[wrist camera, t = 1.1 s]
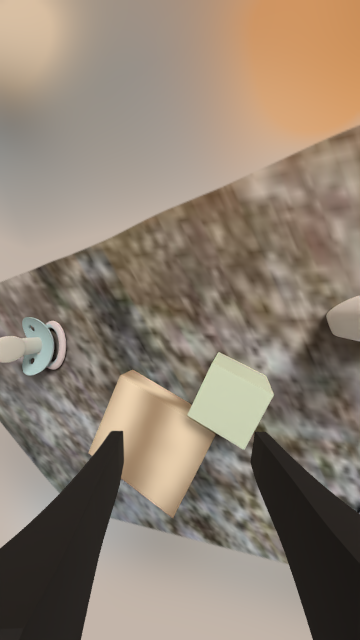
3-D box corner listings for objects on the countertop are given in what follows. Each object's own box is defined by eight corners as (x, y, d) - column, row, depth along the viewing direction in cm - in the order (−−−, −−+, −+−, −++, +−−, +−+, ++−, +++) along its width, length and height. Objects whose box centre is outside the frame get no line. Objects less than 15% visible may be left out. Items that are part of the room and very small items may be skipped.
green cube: (265, 375, 20) (274, 394, 15) (243, 418, 21) (244, 449, 16) (218, 351, 21) (212, 362, 16) (198, 393, 22) (187, 415, 17)
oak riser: (219, 418, 22) (215, 434, 19) (181, 493, 23) (172, 518, 20) (134, 368, 24) (120, 375, 22) (105, 437, 26) (88, 452, 23)
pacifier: (70, 318, 27) (34, 316, 28) (22, 319, 21) (-21, 317, 22) (69, 373, 27) (33, 368, 29) (22, 390, 21) (-21, 383, 22)
